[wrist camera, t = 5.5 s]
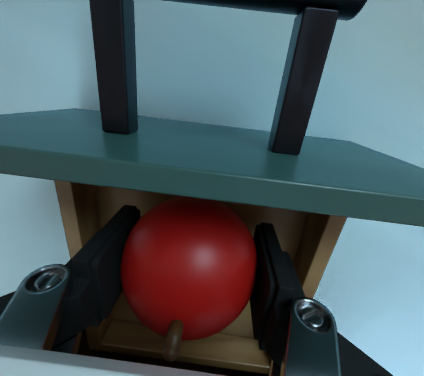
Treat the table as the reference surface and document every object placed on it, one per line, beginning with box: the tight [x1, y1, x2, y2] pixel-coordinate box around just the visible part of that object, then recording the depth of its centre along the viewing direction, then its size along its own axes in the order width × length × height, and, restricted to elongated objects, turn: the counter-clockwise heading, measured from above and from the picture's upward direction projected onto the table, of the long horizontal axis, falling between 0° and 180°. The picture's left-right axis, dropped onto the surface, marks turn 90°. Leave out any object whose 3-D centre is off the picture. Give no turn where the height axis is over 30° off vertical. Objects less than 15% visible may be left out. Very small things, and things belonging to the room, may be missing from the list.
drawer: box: [0, 0, 424, 374], centre depth 10 cm, size 21×15×8 cm
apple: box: [120, 196, 258, 362], centre depth 9 cm, size 6×6×7 cm
